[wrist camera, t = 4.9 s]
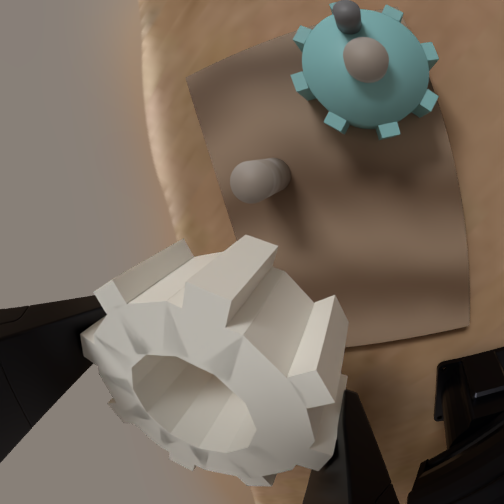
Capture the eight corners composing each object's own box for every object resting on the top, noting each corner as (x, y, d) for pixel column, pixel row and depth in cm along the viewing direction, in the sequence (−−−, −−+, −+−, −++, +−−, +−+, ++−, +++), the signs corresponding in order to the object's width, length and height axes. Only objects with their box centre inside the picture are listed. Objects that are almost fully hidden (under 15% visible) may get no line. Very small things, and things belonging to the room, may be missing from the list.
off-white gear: (303, 442, 10) (280, 506, 7) (140, 369, 12) (96, 413, 9) (394, 288, 7) (404, 363, 4) (148, 201, 9) (71, 228, 6)
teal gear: (445, 126, 13) (472, 119, 9) (325, 153, 16) (311, 154, 12) (400, 11, 12) (407, -26, 8) (284, 40, 15) (258, 11, 11)
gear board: (465, 318, 17) (484, 362, 12) (278, 346, 23) (255, 389, 18) (396, 13, 12) (402, -26, 8) (193, 80, 18) (147, 67, 14)
